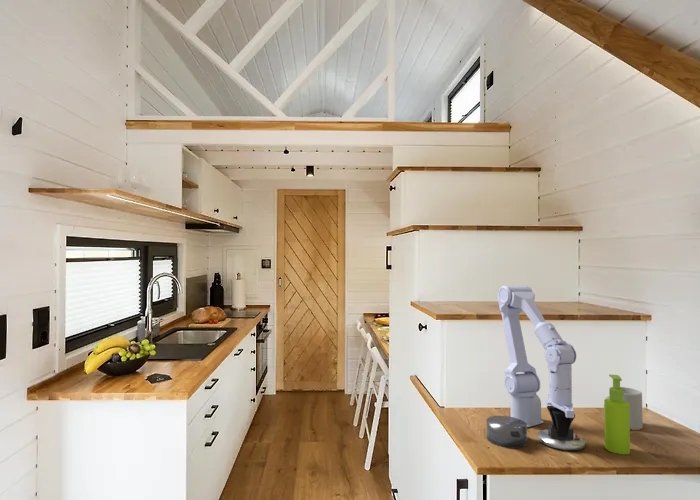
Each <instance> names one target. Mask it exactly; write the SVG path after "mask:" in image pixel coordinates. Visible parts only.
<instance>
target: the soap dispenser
mask: <svg viewBox="0 0 700 500" xmlns="http://www.w3.org/2000/svg"><path fill="white" fill-rule="evenodd" d="M608 376H609V378H611V379H612V386H610V387H609V395H608V396H610V399H606V398H605V399H604V402H603V411H604V448H605V450H607V451H608V452H609V453H610V452H611V453H613V454H617V453H618V454H617V455H629V454H630V453H631V430H630V410H629V403H628V402H626V401H624V390H623V389H622V388H620V387H621V382H622V380H623V379H622V378H621V376H620V375H618V374H609V375H608ZM628 453H629V454H628Z"/></svg>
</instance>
